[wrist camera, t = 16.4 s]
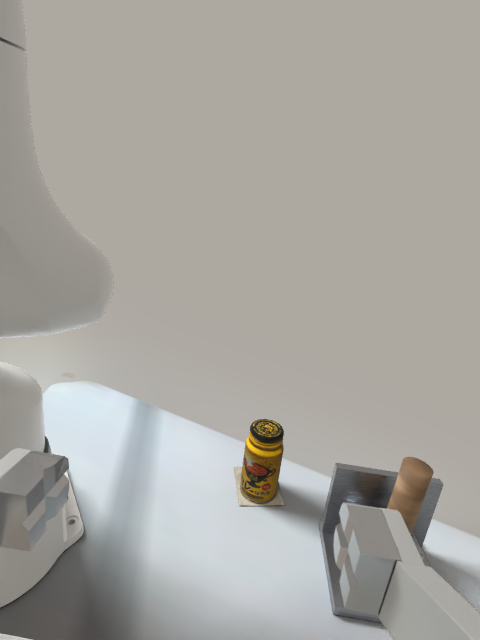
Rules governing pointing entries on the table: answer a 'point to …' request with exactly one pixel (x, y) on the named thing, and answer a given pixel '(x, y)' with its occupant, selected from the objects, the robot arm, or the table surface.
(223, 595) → the table surface
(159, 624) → the table surface
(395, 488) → the wooden cylinder rod
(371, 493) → the cup bracket
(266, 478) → the condiment
